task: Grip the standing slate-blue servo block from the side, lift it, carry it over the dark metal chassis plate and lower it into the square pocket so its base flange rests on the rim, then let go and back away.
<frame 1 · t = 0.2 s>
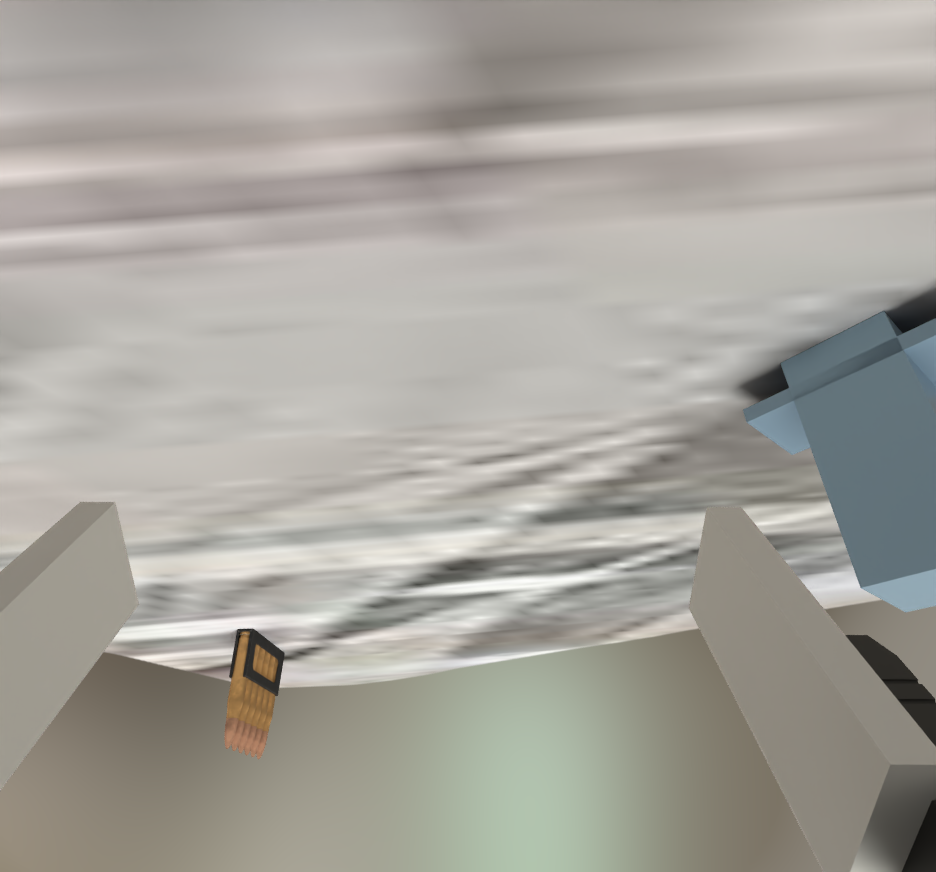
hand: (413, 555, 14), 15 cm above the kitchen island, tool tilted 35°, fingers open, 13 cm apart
ammunition clip: (262, 640, 75), on the kitchen island
servo: (850, 359, 33), on the kitchen island
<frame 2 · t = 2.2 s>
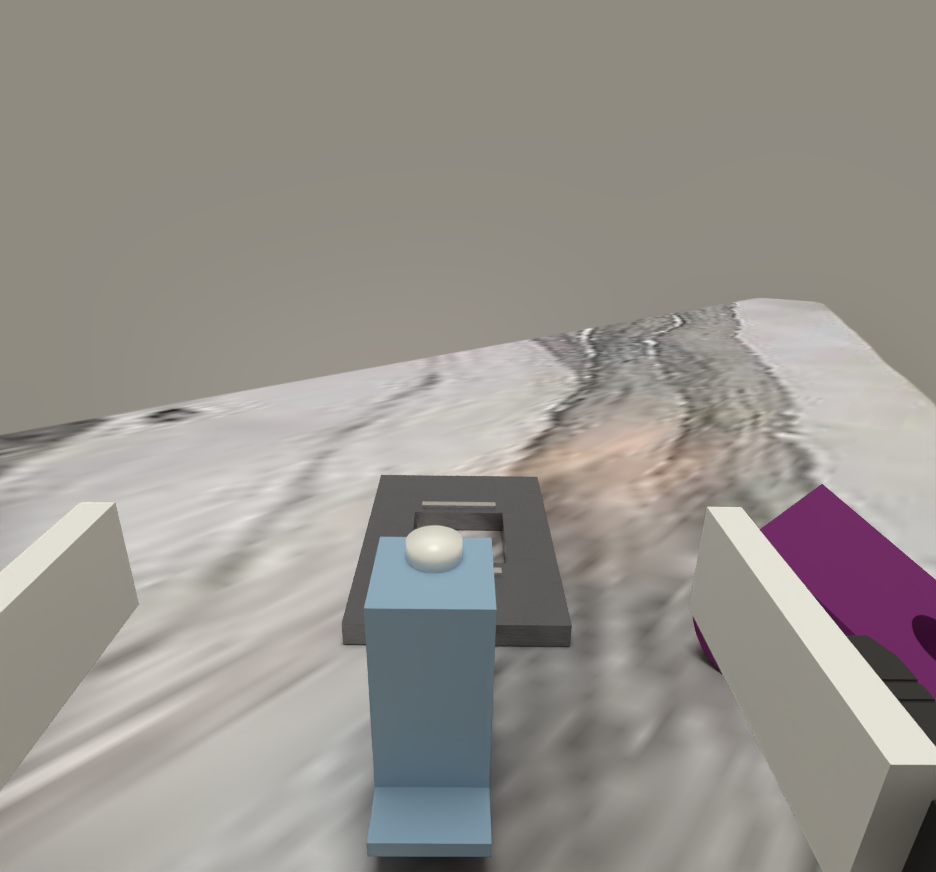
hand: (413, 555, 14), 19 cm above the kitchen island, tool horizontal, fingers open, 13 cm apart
mounting bracket: (874, 707, 36), on the kitchen island
chassis plate: (458, 554, 49), on the kitchen island
servo: (434, 775, 31), on the kitchen island
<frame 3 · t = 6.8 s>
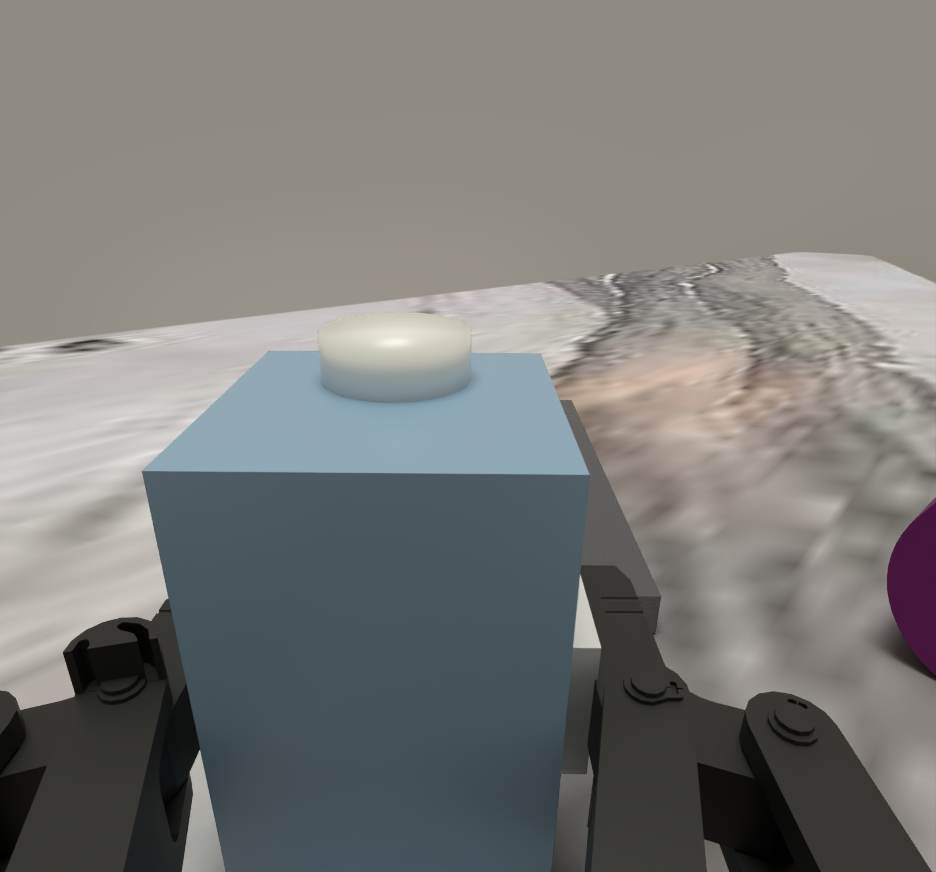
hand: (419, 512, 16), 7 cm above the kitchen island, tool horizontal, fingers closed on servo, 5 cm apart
chassis plate: (459, 497, 32), on the kitchen island
when the fingers open (8 cm above the kitchen island, at t = 11.4 s): servo stays where it is, resting on chassis plate.
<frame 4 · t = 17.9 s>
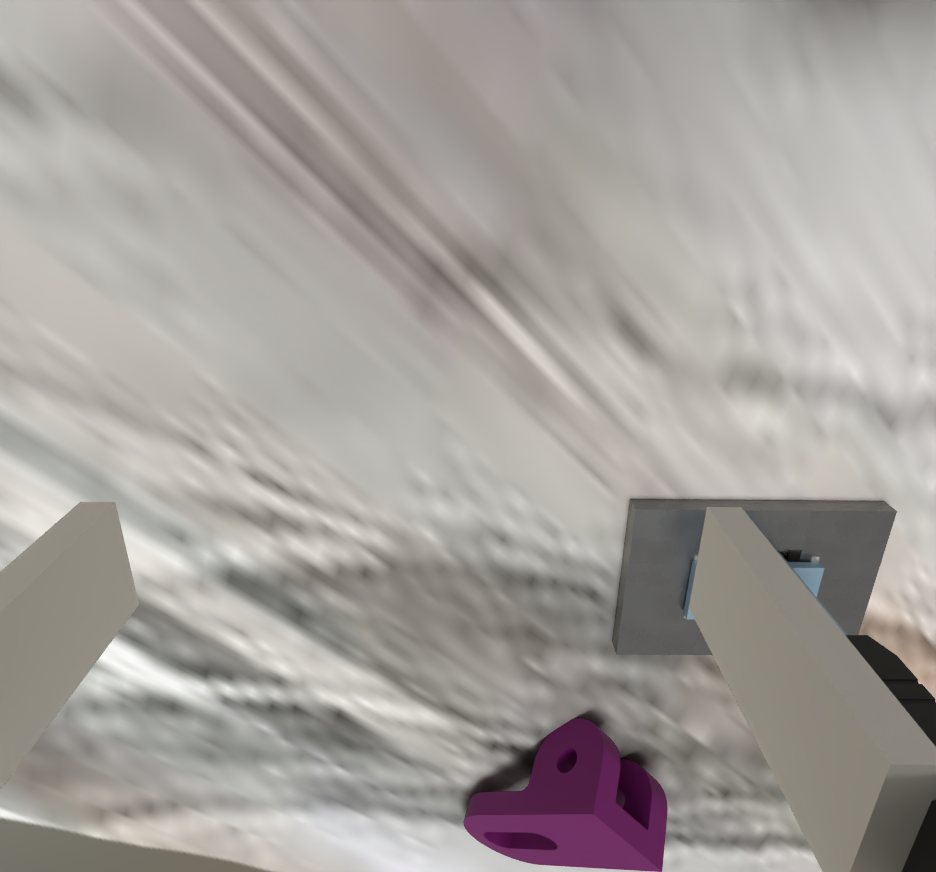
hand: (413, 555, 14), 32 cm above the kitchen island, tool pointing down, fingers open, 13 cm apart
mounting bracket: (547, 776, 62), on the kitchen island
chassis plate: (741, 574, 53), on the kitchen island
servo: (742, 576, 52), resting on chassis plate
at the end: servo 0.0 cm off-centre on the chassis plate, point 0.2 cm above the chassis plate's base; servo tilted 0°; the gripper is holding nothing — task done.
